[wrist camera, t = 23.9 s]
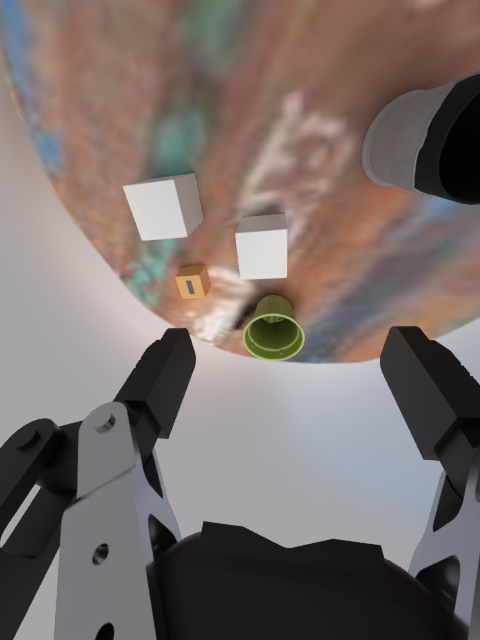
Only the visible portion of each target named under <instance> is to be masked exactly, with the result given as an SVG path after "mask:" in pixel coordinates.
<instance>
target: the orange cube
mask: <svg viewBox="0 0 480 640" xmlns="http://www.w3.org/2000/svg"><path fill="white" fill-rule="evenodd" d="M175 278H176V281H177V284H178V287H179V290H180V293H181V296H182V299H186V298H203V297H206V295H207V293H208V290H209V288H210V286H211V285H210V281H209V277H208V273H207V269H206V265H198V266H186V267H183V268H182V269H181V270H180V271H179V273H178V274H177V275H176V277H175Z"/></svg>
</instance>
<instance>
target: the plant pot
mask: <svg viewBox="0 0 480 640" xmlns="http://www.w3.org/2000/svg"><path fill="white" fill-rule="evenodd" d="M265 317H266V318H265ZM280 317H283V318H282V319H278V318H280ZM304 339H305V336H304V332H303V329H302V327H301V326H300V324H299V323H298V322H297V321H296V320H295V317H294V315H293V312H292V309H291V306H290V303H289V302H288V300H287V299H285V298H284V297H282V296H277V295H268V296H266V297H264V298H262V299H261V300H260V301H259V303H258V305H257V308H256V310H255V313H254V316H253V318H252V320H251V321H250V322H249V323H248V324H247V325H246V327H245V329H244V331H243V343H244V345H245V347H246V349H247V350H248V351H249V352H250V353H251V354H253V355H254V356H256V357H258V358H260V359H264V360H268V361H280V360H285V359H288V358H290V357H292V356H294V355H295V354H297V353H298V352H299V351H300V349H301V348H302V346H303V344H304Z"/></svg>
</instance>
